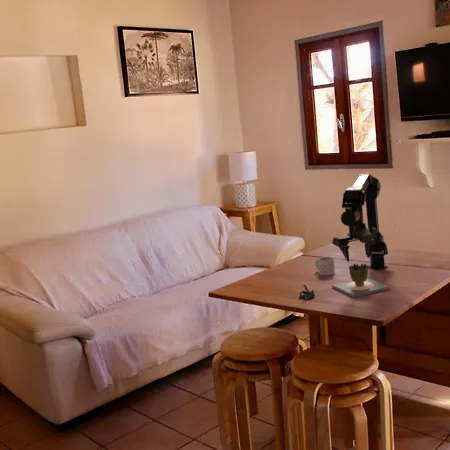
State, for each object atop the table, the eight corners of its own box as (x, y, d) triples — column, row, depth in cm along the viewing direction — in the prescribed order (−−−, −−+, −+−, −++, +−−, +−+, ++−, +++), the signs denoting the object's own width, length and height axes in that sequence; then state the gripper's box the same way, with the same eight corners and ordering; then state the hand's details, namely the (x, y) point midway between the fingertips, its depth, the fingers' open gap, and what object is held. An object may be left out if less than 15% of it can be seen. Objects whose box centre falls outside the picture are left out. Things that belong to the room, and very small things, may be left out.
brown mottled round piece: (371, 282, 234) (369, 263, 232) (367, 288, 227) (366, 268, 226) (352, 282, 237) (351, 263, 235) (348, 288, 230) (346, 268, 229)
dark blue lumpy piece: (320, 293, 225) (304, 281, 227) (309, 308, 224) (293, 296, 226) (320, 297, 232) (305, 285, 234) (310, 311, 231) (294, 300, 233)
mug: (337, 273, 257) (336, 258, 256) (326, 276, 253) (325, 261, 252) (322, 269, 265) (321, 255, 264) (311, 272, 262) (310, 258, 260)
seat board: (332, 287, 237) (331, 284, 237) (366, 280, 242) (366, 277, 242) (353, 297, 222) (353, 294, 222) (389, 289, 227) (389, 286, 227)
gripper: (345, 227, 217) (348, 268, 219) (388, 219, 222) (390, 259, 225) (330, 223, 227) (333, 262, 230) (372, 216, 233) (374, 254, 236)
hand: (358, 259), depth 230 cm, fingers open, 9 cm apart
